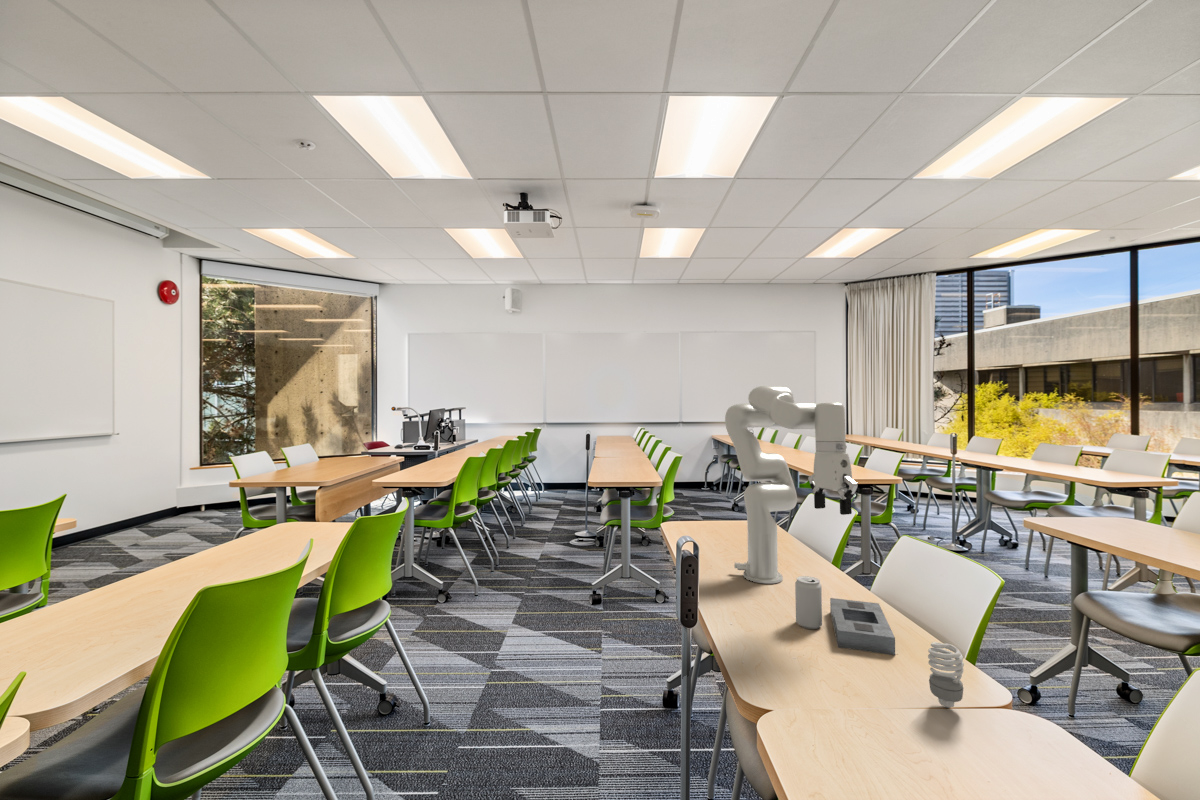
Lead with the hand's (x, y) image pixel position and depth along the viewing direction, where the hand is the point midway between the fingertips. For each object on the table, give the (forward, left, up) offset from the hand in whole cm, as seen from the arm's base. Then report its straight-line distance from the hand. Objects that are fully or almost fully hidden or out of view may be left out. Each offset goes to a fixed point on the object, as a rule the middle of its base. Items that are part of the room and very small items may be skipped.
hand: (832, 511), depth 138 cm
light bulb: (+16, -38, -29) cm, 50 cm away
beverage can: (-7, -7, -29) cm, 31 cm away
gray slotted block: (+5, -7, -29) cm, 30 cm away
